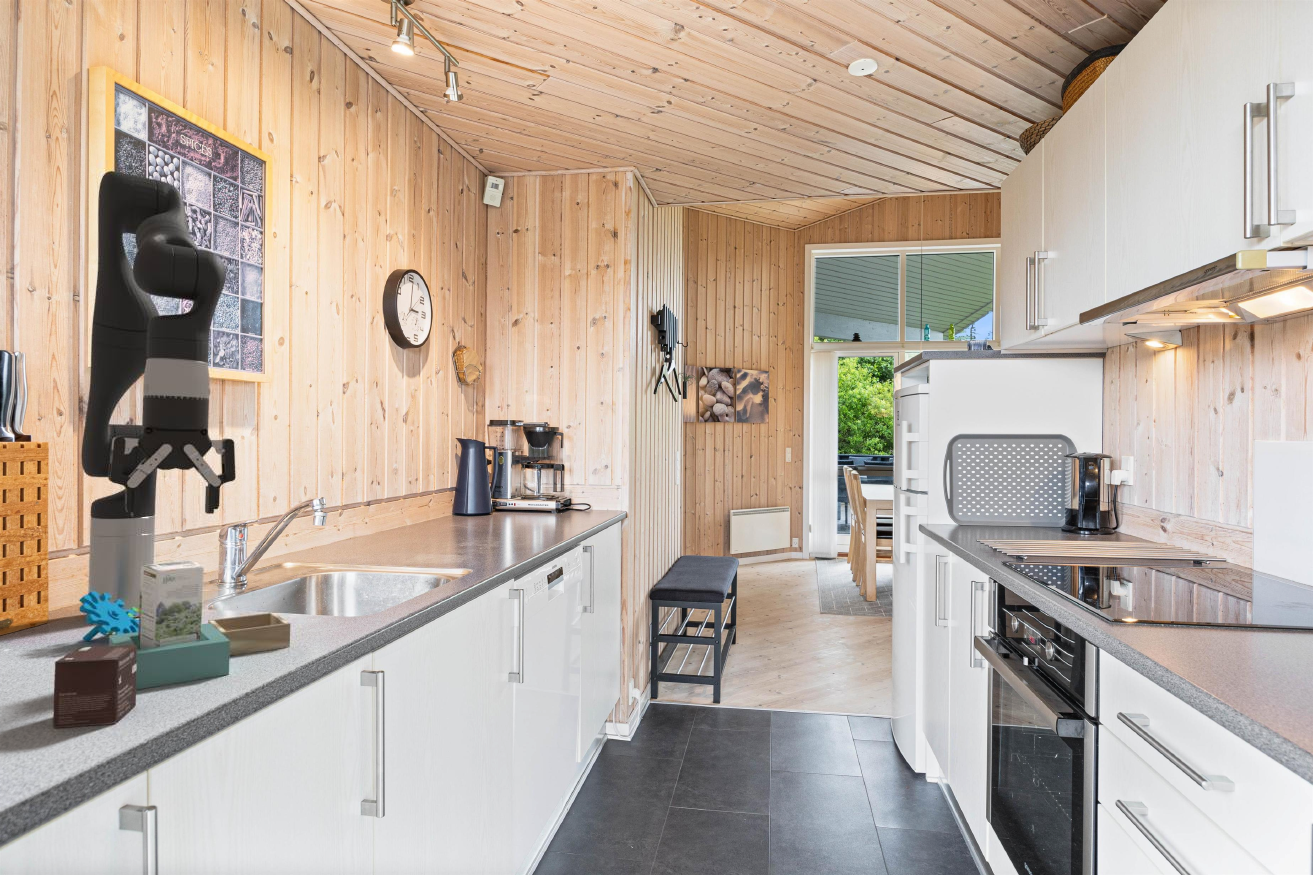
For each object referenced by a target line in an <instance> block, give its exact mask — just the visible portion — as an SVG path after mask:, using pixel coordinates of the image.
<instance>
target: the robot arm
mask: <svg viewBox="0 0 1313 875" xmlns="http://www.w3.org/2000/svg"><path fill="white" fill-rule="evenodd" d="M98 189H99V190H98V199H97V200H98V201H97V202H98V203H97V205H98V206H97V229H98V230H97V239H98V240H97V251H98V252H97V276H96V286H95V295H94V296H95V299H94V306H93V314H92V326H91V341H90V342H91V345H90V348H91V349H90V351H91V352H90V375H89V376H90V379H89V380H90V381H89V392H88V400H87V408H86V415H85V420H84V421H85V422H84V427H83V428H84V429H83V437H82V443H81V455H80V456H81V457H80V458H81V465H82V469H83V472H84V473H85V474H86V475H87V476H89V477H91V478H108V481H109V482H111V483H113V484H116V485H117V484H118V485H121V486H123V487H124V489H122V490H120V491H119V492H116V493H113V494H110V495H106V496H103V497H100V498H98V499H95V500H94V501H93V502H91V505H90V522H89V523H90V526H89V529H90V530H89V555H88V556H89V560H88V562H89V563H88V587H87V588H88V590H87V591H88V592H87V594H88V593H90V592H91V591H95V592H98V593H99V597H98V598H99V600H101V599H100V596H101V595H102V594H103V593H104V592H105V593H107V594H109V595H111V598H110V599H109V600H108V601H109V602H110V603H114V602H115V601H117V600H118V599H120V600H122V601H123V602H124V603H125V605H124V606H123V607H122V609H125V610H129V609H131V608H132V607H135V608H137V609H138V612H136V615H135V616H134V617H133V618H134V619H135V618H137V617H138V618H139V603H140V577H141V566H142V565H150V564H155V563H154V561H155V531H156V530H155V529H156V528H155V526H156V496H157V478H158V477H157V476H158V470H161V471H170V470H174V469H176V470H177V469H178V470H183V471H190V470H191V469H193V468H194V470H196V472H197V473H198V474H199V475H200V476H201V477H202V478H203V479H204V481H205V482H206V483H207V485H205V500H204V501H205V503H204V504H205V505H204V512H205V514H207V515H208V514H209V515H212V514H215V510H218V509H219V507H220V497H221V496H220V494H221V487H222V486H223V484H226V483H230V482H234V481H235V480H236V456H235V455H236V453H235V452H236V450H235V448H236V447H235V441H234V440H233V439H232V438H222V439H215V440H214V439H211V438H210V435H209V418H210V417H209V414H210V412H209V409H210V395H211V387H210V385H211V384H210V381H211V380H210V372H209V349H210V348H209V346H210V345H209V342H210V332H211V328H212V327H211V326H212V321H213V318H214V314H215V311H216V308H217V306H218V303H219V301H220V299H221V295H222V292H223V290H224V288H225V284H226V282H227V281H226V280H227V269H226V266H225V263H224V262H223V260H222V259H221V257H220V256H219V255H217V253H215V252H213V251H208V250H204V249H199V248H198V246H197V244H196V243H195V241H194V239H193V237H192V236H191V235H190V233H189V229H188V227H189V226H188V219H187V214H186V209H185V207H186V206H185V203H184V200H183V196H182V194H181V192H180V190H179V189H178V188H177V187H175V186H174V185H173V184H171V183H168V182H165V181H162V180H158V179H153V178H149V177H144V176H140V175H134V174H130V173H126V172H120V171H114V170H113V171H112V170H110V171H106V172H105V173H104V174H103V176H102V177H101V180H100V183H99V188H98ZM123 234H130V235H131V234H132V235H135V236H134V237H135V244H136V248H137V252H136V253H135V257H134V259H133V264H132V265H131V262H130V260H129V259H128V256H127V252H126V249H125V246H124V240H123V238H124V236H123ZM150 295H151V296H155V297H162V298H167V299H177V300H185V301H193V302H192V306H191V308H190V309H189V310H188V312H185V313H179V314H176V313H175V314H162V315H160V314H159V311H158V308H157V307H156V304H155V303H154V301H153V299H152V297H151V296H150ZM142 376H143V389H142V421H141V422H142V423H141V424H120V423H119V424H118V423H117V424H114V423H113V424H111V423H110V422H111V418H112V416H113V414H114V411H115V409H116V407H117V406H118V404H119V403H120V400H121V399H123V396H124V395H125V394H126V393H127V392H128V391H129V390H130V388H131V387H132V386H133V385H134V384H135V383H136V382H137V381H138V380H139V379H140V378H141V377H142ZM212 448H213V449H214V450H215V453H216V454H217V455H219V456H220V457H221V458H220V461H221V462H220V463H221V465H220V466H221V473H220V474H216V473H215V472H214V470H213V469H212V467H211V466H210V465H209V464H208V463H207V461H206V460H205V459H204V457H205V456H206V455H207V453H208V452H210V450H211V449H212ZM88 616H89V614H87V616H86V617H88Z"/></svg>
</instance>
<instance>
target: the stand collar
mask: <svg viewBox="0 0 1313 875" xmlns="http://www.w3.org/2000/svg"><path fill="white" fill-rule="evenodd" d="M207 623H211V624H212V625H213V626H214V627H215V628H216V629H218V630H219V631H220V632H221V633H222V634H223V635H224V636H225V637H226V638H227V639H229V640H230V656H229V657H231V656H236V655H243V654H244V655H245V654H250V653H255V652H257V653H258V652H262V651H263V652H264V651H268V650H269V651H270V650H276V649H282V648H289V647H291V623H290V622H288V621H287V620H286V619H284V618H282V617H281V616H280V615H278V614H276V613H275V612H266V613H265V612H264V613H259V614H258V613H257V614H249V615H240V616H233V617H225V618H223V617H222V618H215V619H214V618H213V619H209V620H208V621H207Z"/></svg>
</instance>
